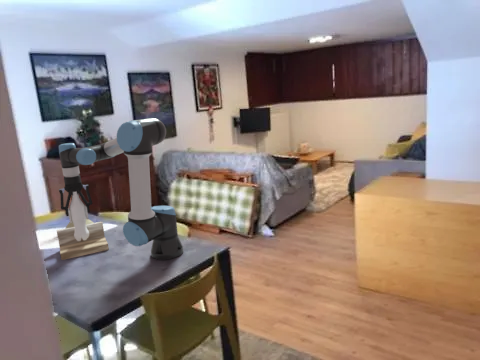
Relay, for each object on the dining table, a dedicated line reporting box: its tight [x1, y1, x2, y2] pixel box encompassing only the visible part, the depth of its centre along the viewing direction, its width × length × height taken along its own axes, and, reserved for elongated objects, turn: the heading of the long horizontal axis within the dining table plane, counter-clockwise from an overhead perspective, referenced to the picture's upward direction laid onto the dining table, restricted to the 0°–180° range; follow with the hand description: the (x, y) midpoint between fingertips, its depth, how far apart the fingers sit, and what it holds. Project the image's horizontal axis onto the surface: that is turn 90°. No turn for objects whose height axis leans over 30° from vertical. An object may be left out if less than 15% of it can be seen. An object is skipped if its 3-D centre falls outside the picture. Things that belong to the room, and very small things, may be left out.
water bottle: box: [68, 191, 89, 241], centre depth 202 cm, size 7×7×25 cm
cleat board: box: [56, 221, 110, 261], centre depth 205 cm, size 14×22×11 cm, turn 115°
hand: (79, 220), depth 203 cm, fingers closed on water bottle, 7 cm apart
